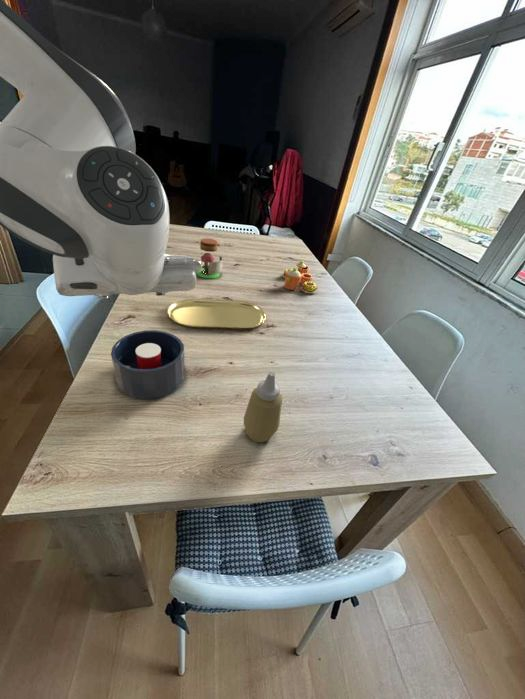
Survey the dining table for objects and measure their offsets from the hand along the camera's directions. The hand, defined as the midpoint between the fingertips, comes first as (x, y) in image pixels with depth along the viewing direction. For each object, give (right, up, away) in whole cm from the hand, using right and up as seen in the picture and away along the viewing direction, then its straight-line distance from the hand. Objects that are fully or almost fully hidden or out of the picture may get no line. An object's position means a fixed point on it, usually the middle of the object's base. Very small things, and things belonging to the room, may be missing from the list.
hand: (132, 292), depth 53 cm
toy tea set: (+40, +22, +89) cm, 100 cm away
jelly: (-6, -17, +24) cm, 30 cm away
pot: (-6, -17, +24) cm, 30 cm away
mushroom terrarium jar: (-2, +24, +82) cm, 85 cm away
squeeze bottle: (+23, -29, +15) cm, 40 cm away
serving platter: (+7, +2, +53) cm, 54 cm away
